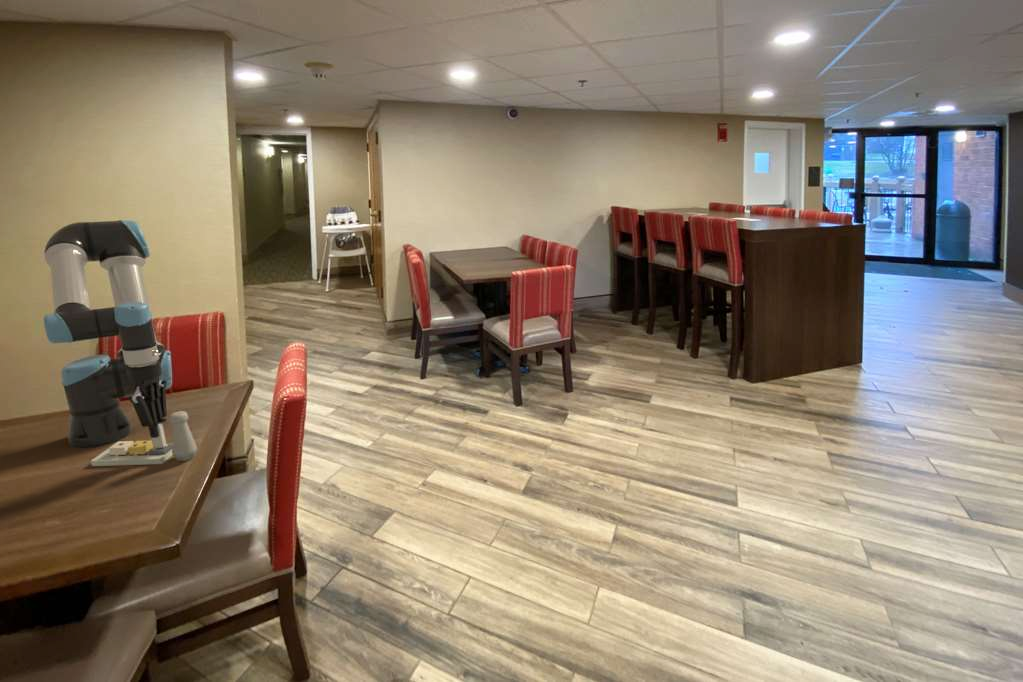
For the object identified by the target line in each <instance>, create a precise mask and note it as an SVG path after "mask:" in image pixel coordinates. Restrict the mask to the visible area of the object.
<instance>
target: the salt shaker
mask: <svg viewBox="0 0 1023 682" xmlns="http://www.w3.org/2000/svg"><path fill="white" fill-rule="evenodd" d="M168 420H169V422H170V424H172V442H171V444H172V453H173V455H172V456H173V457H174V458H175V459H176V461H177V462H188V461H191V460H192V459H194V458H195V457H196V454H197V450H198V446H197V444H196V441H195V439H194V437H193V434H192V432H191V429H190V427H189V424H188V420H189V414H188V413H187V412H186V411H183V410H179V411H174V412H172V413H171V414H169V416H168Z"/></svg>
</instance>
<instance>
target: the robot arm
mask: <svg viewBox="0 0 1023 682" xmlns="http://www.w3.org/2000/svg"><path fill="white" fill-rule="evenodd" d="M147 243H148V242H147V240H146V238H145V235H144V233H143V230H142V227H141V226H140V224H139V223H138V222H137V221H135V220H121V219H118V220H110V221H109V220H108V221H106V220H105V221H87V222H83V221H79V222H72V223H70V224H68V225H64V226H63V227H62V228H60V229H58V230H57V231H55V233H54V234H52V236H51V237H50V238H49V239H48V240H47V243H46V245H45V248H44V260H45V262H46V263H47V264H46V265H48V267H50V277H51V290H52V303H53V311H54V312H53V313H50V314H49V313H48V314H46V315H44V317H43V327H44V331H45V334H46V335H45V336H46V337H47V340H48V341H49V342H50V343H52V344H63V343H68V344H71V343H75V342H81V341H87V340H95V339H101V338H110V337H117V336H119V340H120V345H121V348H120V349H119V350H118V351H117V354H118V357H117V358H112V359H111V357H110V356H109V355H107V354H96V355H91V356H87V357H83V358H80V359H76V360H73V361H72V362H69V363H68V364H66V365H65V366H63V368H62V369H61V371H60V375H61V381H62V383H61V385H62V386H63V388H64V393H65V397H66V401H67V404H68V410H69V413H70V421H69V426H68V428H69V429H68V433H67V438H68V443H69V445H71V446H72V447H77V448H88V447H89V448H90V447H95V446H100V445H105V444H110V443H112V442H115V441H118V440H121V439H123V438H125V437H126V436H128V435H129V434H131V432H132V431H133V425H132V421H131V420H130V419H129V417H128V416H127V414H126V413H125V411H124V410H123V408H122V407H121V405H120V400H119V399H123V398H128V400H129V402H130V403H131V404H132V405H133V408H134V410H135V411H134V412H135V413H136V415H137V417H138V420H139V422H140V425H141V427H142V428H144V427H148V430H149V436H150V440H152V444H153V448H161V447H165V446H166V445H167V444H168V443H167V441H166V435H165V429H164V425H163V423H165V422H167V418H166V417H167V414H168V413H167V395H166V393H167V391H166V390H168V389H170V388H171V387H172V385H173V370H172V353H171V351H170V350H167V349H166V350H165V346H164V344H162V343H161V342H159V341H157V336H156V332H155V327H154V324H153V316H152V313H151V312H152V311H151V309H150V304H149V299H148V294H147V293H148V292H147V290H146V289H147V288H146V285H145V281H144V275H143V270H142V268H143V267H144V266H145V264H146V259H147V258H149V257H150V251H149V247H148V244H147ZM88 262H99V266H100V267H101V268H102V269H104V270H106V271H107V274H108V279H109V284H110V289H111V295H112V299H113V305H114V306H113V307H112V306H111V307H103V308H94V309H91V304H90V298H89V296H90V295H89V291H88V290H89V289H88V284H87V275H86V270H85V266H86V264H87V263H88Z"/></svg>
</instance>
